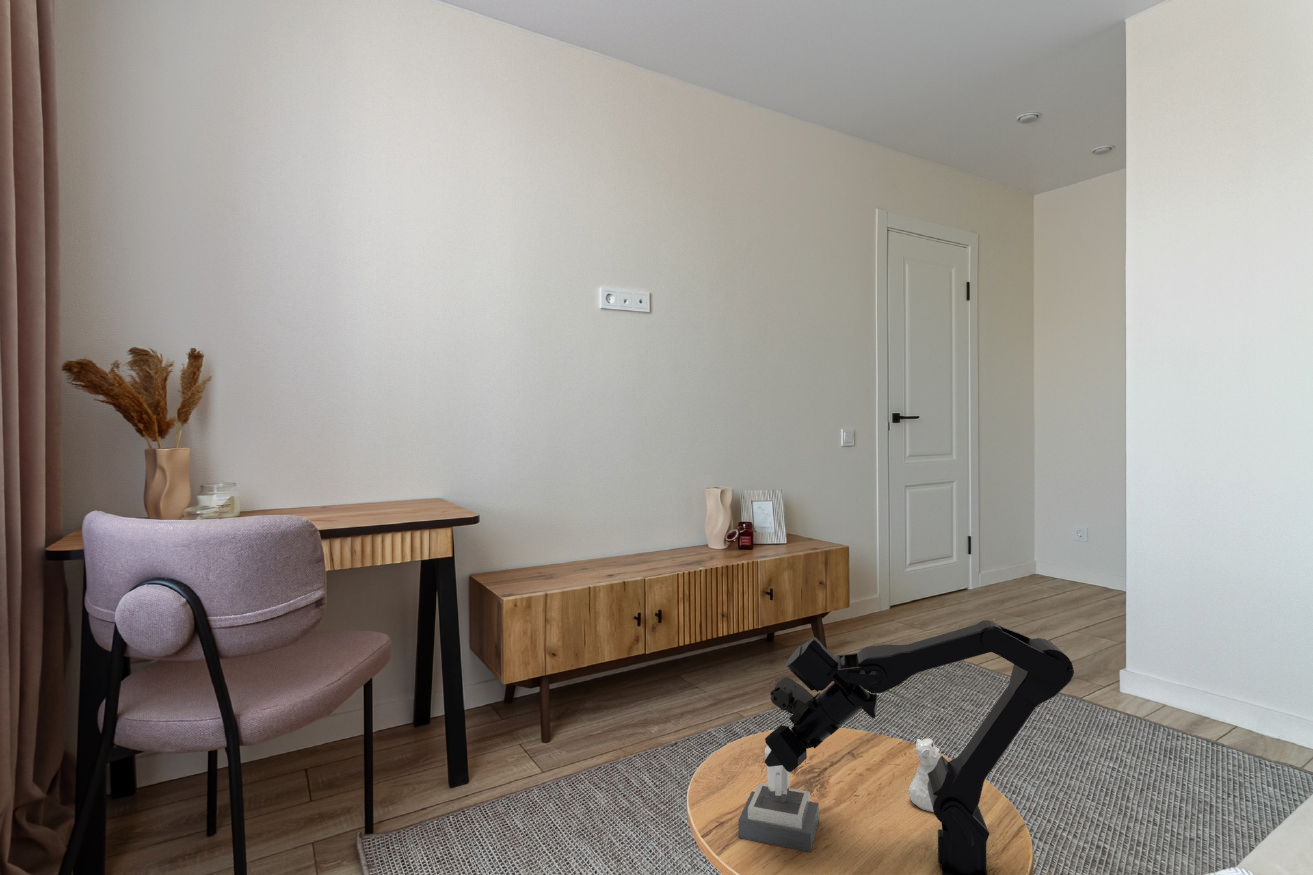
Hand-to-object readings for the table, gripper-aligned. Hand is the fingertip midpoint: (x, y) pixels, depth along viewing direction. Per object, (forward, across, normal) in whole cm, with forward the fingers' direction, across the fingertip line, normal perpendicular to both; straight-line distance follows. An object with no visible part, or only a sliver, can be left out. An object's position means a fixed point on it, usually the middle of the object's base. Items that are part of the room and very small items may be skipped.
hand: (772, 758), depth 119 cm
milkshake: (+4, 0, +6) cm, 7 cm away
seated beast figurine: (-6, -23, +24) cm, 33 cm away
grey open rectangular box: (+8, 0, +9) cm, 12 cm away
